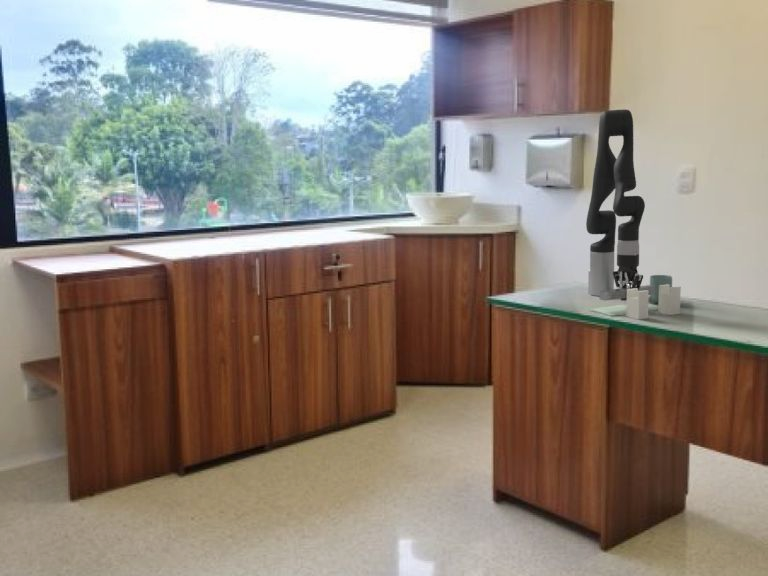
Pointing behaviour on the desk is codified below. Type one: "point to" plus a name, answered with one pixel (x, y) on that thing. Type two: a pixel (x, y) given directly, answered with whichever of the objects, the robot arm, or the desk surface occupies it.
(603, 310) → the mat
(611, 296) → the bar
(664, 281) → the cup
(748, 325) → the desk surface
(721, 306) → the desk surface
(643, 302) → the rack
